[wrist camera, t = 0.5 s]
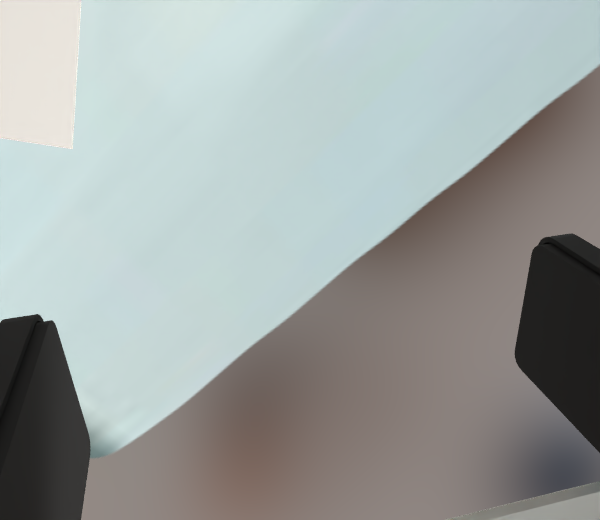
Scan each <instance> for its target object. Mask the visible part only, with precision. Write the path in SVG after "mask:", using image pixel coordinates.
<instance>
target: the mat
mask: <svg viewBox="0 0 600 520" xmlns="http://www.w3.org/2000/svg"><path fill="white" fill-rule="evenodd" d="M80 15H81V0H0V138H3V139H9V140H16V141H22V142H29V143H36V144H42V145H49V146H55V147H62V148H68V149H72V148H73V135H74V118H75V101H76V84H77V67H78V50H79V32H80Z"/></svg>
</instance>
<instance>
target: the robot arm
mask: <svg viewBox="0 0 600 520" xmlns="http://www.w3.org/2000/svg"><path fill="white" fill-rule="evenodd" d="M515 358H516V362H517V364H518V366H519V368H520V369H521V370H522V371H523V372H524V373H525V374H526V375H527V376H528V378H529V379H530V380H531V381H532V382H533V383H534V384H535V385H536V386H537V387H538V388H539V389H540V390H541V391H542V392H543V393H544V394H545V396H546V397H548V399H549V400H550V401H551V402H552V403H553V404H554V405H555V406H556V407H557V408H558V409H559V410H560V411H561V412H562V413H563V414H564V416H565V417H566V418H567V419H568V420H569V421H570V422H571V423H572V424H573V425H574V426H575V427H576V428H577V429H578V430H579V431H580V432H581V433H582V435H583V436H584V437H585V438H586V439H587V440H588V441H589V442H590V443H591V444H592V445H593V446H594V447H595V448H596V449H597V450H598V451H599V452H600V249H599V248H597V247H595V246H593V245H592V244H590V243H589V242H587V241H585V240H583V239H582V238H580V237H578V236H576V235H574V234H565V235H558V236H551V237H545V238H543V239H542V240H541V241H540V243H539V244H538V246H536V247H535V248H534V249H533V252H532V255H531V262H530V267H529V273H528V278H527V284H526V290H525V296H524V302H523V307H522V313H521V318H520V324H519V330H518V336H517V342H516V347H515ZM89 459H90V439H89V434H88V430H87V427H86V424H85V420H84V417H83V414H82V410H81V407H80V404H79V401H78V397H77V394H76V391H75V387H74V384H73V381H72V377H71V374H70V371H69V367H68V364H67V361H66V358H65V354H64V351H63V348H62V344H61V341H60V338H59V334H58V331H57V328H56V325H55V323H54V322H53V321H52V320H51V321H45V322H44V321H43V319H42V318H41V316H40V315H38V314H36V315H30V316H23V317H17V318H10V319H4V320H2V321H1V323H0V520H81V514H82V508H83V501H84V494H85V487H86V480H87V473H88V466H89ZM447 520H600V481H599V482H595V483H591V484H587V485H583V486H579V487H575V488H571V489H567V490H563V491H559V492H555V493H551V494H547V495H543V496H539V497H534V498H531V499H526V500H522V501H519V502H515V503H510V504H507V505H503V506H498V507H495V508H491V509H486V510H482V511H478V512H474V513H471V514H467V515H463V516H459V517H455V518H451V519H447Z"/></svg>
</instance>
